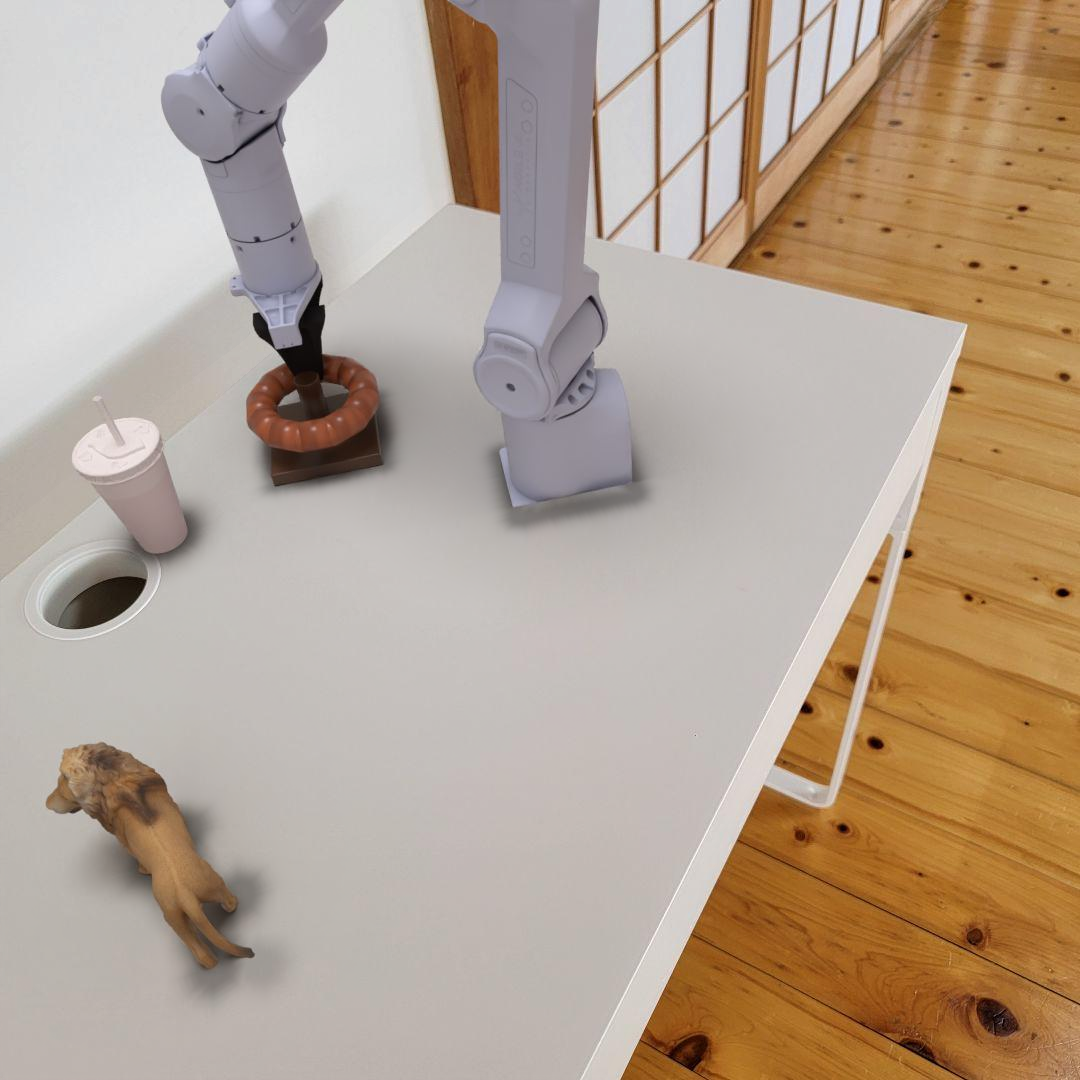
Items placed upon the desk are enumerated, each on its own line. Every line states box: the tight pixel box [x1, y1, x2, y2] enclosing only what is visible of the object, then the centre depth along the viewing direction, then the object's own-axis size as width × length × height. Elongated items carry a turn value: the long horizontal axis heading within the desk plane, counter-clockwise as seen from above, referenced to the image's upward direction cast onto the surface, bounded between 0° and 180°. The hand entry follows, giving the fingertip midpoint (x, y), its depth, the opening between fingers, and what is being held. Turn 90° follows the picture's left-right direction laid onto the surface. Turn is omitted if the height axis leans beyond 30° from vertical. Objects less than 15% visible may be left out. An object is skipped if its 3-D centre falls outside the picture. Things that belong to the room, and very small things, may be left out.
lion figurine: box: [45, 741, 256, 970], centre depth 55 cm, size 15×5×9 cm, turn 50°
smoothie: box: [71, 395, 189, 555], centre depth 74 cm, size 6×6×14 cm
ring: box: [245, 353, 381, 453], centre depth 82 cm, size 11×11×2 cm
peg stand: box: [269, 371, 384, 486], centre depth 82 cm, size 9×9×7 cm
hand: (310, 368), depth 84 cm, fingers closed on ring, 2 cm apart
